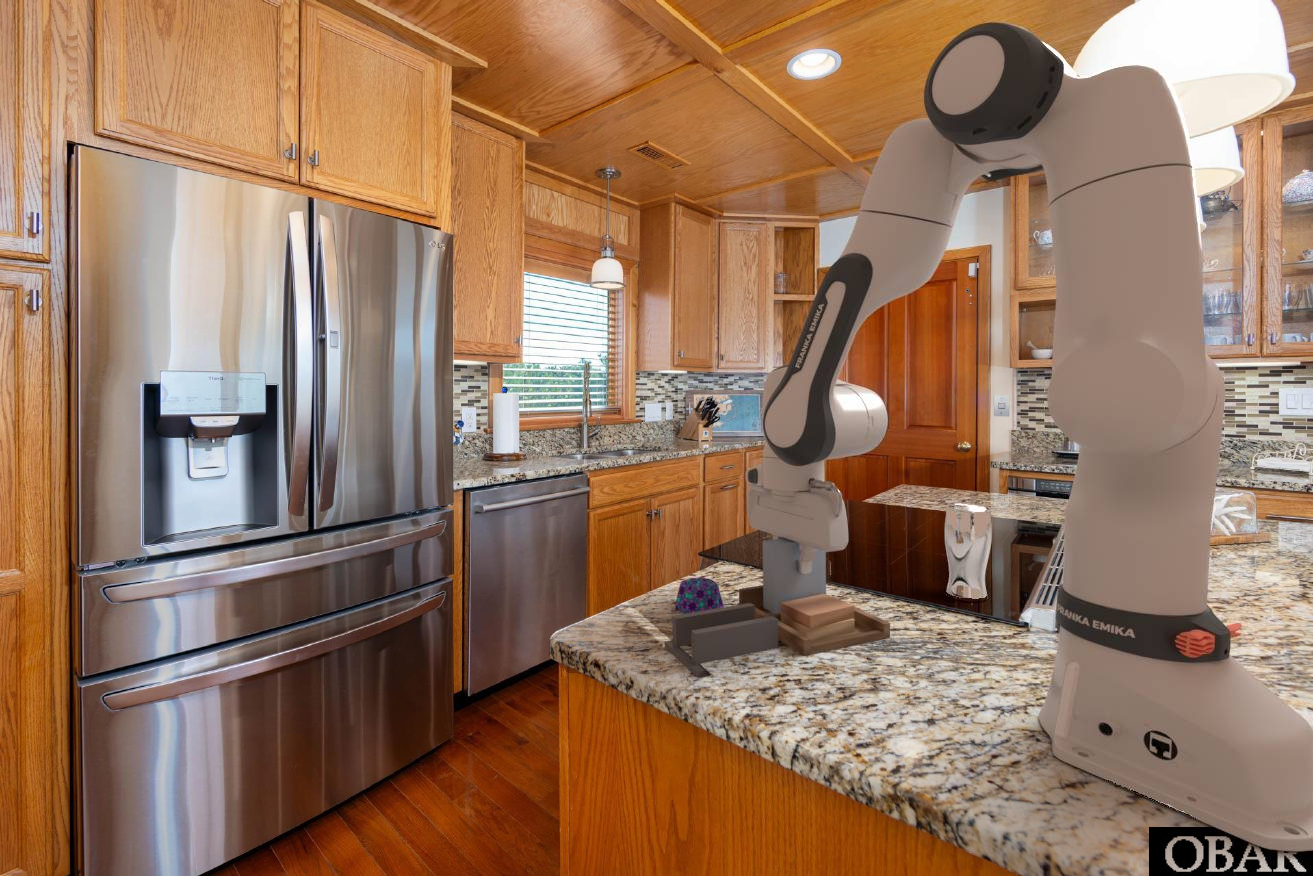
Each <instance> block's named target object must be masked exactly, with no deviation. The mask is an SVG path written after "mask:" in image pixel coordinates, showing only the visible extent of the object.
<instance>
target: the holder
mask: <svg viewBox="0 0 1313 876" xmlns="http://www.w3.org/2000/svg"><path fill="white" fill-rule="evenodd" d="M671 621H672V624H671V625H672V632H671V633H672V640H668V641H667V640H666V641H664V649H666V651H668V652H669V653H670V654H671V655H672V656H673V657H674V658H676V660H678V661H679V662H680V663H681V664H682V665H683V666H684V667H686V669H687V670H689V671H690V672H691V673H692V674H693V675H694V676H695V677H697V679H699V678H704V677H709V676H713V674H712V673H711V672H710V671H709V670H708V669H706V668H705V667H704V666H703V665H702V664H706V663H710V662H715V661H719V660H720V661H721V660H725V659H729V658H730V659H731V658H735V657H739V656H745V655H749V654H753V653H758V652H759V653H760V652H765V651H769V650H775V649H778V648H779V640H778V619H777V618H776V617H774V616H771V617H765V618H759V619H755V605H753V604H751V603H747V604H741V605H739V604H737V605H736V604H735V605H730V606H724V607H723V608H717V609H711V610H705V611H699V612H693V613H687V614H683V613H682V614H676V615H672V620H671ZM690 645H691V655H690V654H689V653H688V652H686V651H685V650H684V649H683V648H682V647H686V646H690Z"/></svg>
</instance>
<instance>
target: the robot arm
mask: <svg viewBox="0 0 1313 876" xmlns="http://www.w3.org/2000/svg"><path fill="white" fill-rule="evenodd" d="M923 104H924V108H925V112H926V115H927V117H921V118H917V119H913V120H910V121H906V122H904V123H902V124H900V125H899V126H898V127H896V128H895V129H894V130H893V131H892V133H891V134H890V135H889V136H888V138H887V140H886V142H885V143H884V146H883V147H882V150H881V152H880V154H879V155H878V158H877V161H876V163H875V164H874V167H873V169H872V172H871V175H870V177H869V180H868V182H867V186H866V188H865V192H864V194H863V198H862V200H861V203H860V207H859V212H858V214H857V217H856V221H855V224H854V226H853V230H852V232H851V234H850V237H849V239H848V241H847V242H846V245H845V247H844V249H843V251H842V253H841V254H840V256H839V257H838V258H837V260H836V261H835V262H833V264H832V265H831V266H830V267H829V269H828V270H827V272H826V274H825V275H824V277H823V278H822V281H821V283H820V286H819V288H818V289H817V292H816V295H815V297H814V299H813V301H812V304H811V306H810V309H809V312H808V314H807V317H806V319H805V322H804V325H803V327H802V330H801V333H800V336H799V338H798V340H797V343H796V345H795V346H794V347H795V348H794V351H793V352H792V353H793V354H792V356H791V358H790V360H789V364H785V365H782V366H778V367H777V368H774V369H772V370H771V371H770V372H769V373H768V374H767V376H766V379H765V382H764V385H763V392H762V403H761V404H762V405H761V407H762V409H761V412H762V413H761V425H762V429H763V435H764V448H763V450H762V463H758V464H757V465H755V466H753V467H750V468H748V469H747V470H746V471H745V475H744V476H745V481H746V483H747V484H748V487H747V491H746V509H747V511H746V513H747V520H748V523H749V525H750V527H751V528H752V529H756V530H758V531H762V532H764V533H768V534H771V535H772V540H774V539H781V538H786V539H789V540H792V541H795V542H798V543H799V550H801V551H802V552H801V555H800V558H799V560H796V571H797V572H800V573H802V574H807V573H810V572H811V571H812V560H813V558H814V556H815V554H816V552H817V549H819V550H822V551H825V552H826V553H827V552H828V553H829V552H838V551H843V550H844V549H846V547H847V546H848V543H849V528H848V527H849V526H848V517H847V516H848V515H847V510H846V505H845V502H844V499H843V494H842V491H840V490H839V488H838V487H837V486H836V484H835V482H832V481H825V480H826V479H825V478H826V477H825V475H826V473H825V461H826V460H835V459H841V458H847V457H853V456H859V455H863V454H866V453H868V452H871V451H874V450H875V449H877V448H878V447H879V446H880V445H881V444H882V443H883V442H884V440H885V438H886V435H887V433H888V430H889V421H890V420H889V419H890V417H889V412H888V408H887V406H886V404H885V402H884V400H883V398H882V397H881V396H880V394H878V393H877V392H876V391H874V390H873V389H871V388H867V387H864V386H860V385H857V384H853V383H850V382H846V381H844V380H840V379H839V377H840V374H841V372H842V370H843V367H844V364H845V363H846V360H847V357H848V355H849V352H850V350H851V348H852V345H853V343H854V340H855V337H856V335H857V333H858V331H859V329H860V327H862V325H863V323H864V322H865V321H866V320H867V319H868V317H870V316H871V315H872V314H873V313H874V312H876V311H877V310H878V309H881V308H882V307H883V306H885V305H887V304H889V303H890V302H892V301H895V300H897V299H899V298H902V297H904V296H907V295H910V294H911V293H913V292H915V291H917V290H918V289H920V288H921V287H923V286H924V285H925V284H927V283H928V281H930V280H931V279H932V277H933V276H934V274H935V272H936V271H937V269H938V267H939V265H940V263H941V261H942V260H943V257H944V256H945V252H946V250H947V247H948V244H949V240H950V239H951V235H952V231H953V228H954V225H955V222H956V219H957V216H958V213H959V209H960V206H961V203H962V201H963V199H964V196H965V195H966V192H967V190H968V189H969V187H970V186H971V185H972V183H973V182H974V181H976V180H977V179H978V178H979V177H981V178H983V179H985V180H986V181H987V182H988V181H989V182H994V181H995V182H996V181H999V180H1004V179H1007V178H1010V177H1011V178H1012V177H1015V176H1023V175H1030V174H1035V173H1039V172H1042V171H1044V175H1045V181H1046V189H1047V199H1048V210H1049V211H1048V212H1049V219H1050V232H1051V241H1052V250H1053V259H1054V260H1053V261H1054V272H1055V285H1056V289H1055V290H1056V292H1055V294H1056V295H1055V311H1054V312H1055V314H1054V321H1053V322H1054V323H1053V324H1054V325H1053V338H1052V355H1051V357H1052V358H1051V359H1052V361H1051V362H1052V365H1051V366H1052V367H1051V368H1052V369H1051V377H1050V380H1049V382H1048V383H1049V384H1048V387H1047V396H1046V397H1047V407H1048V411H1049V414H1050V416H1051V417H1050V418H1051V419H1052V420H1053V422H1054V424H1055V425H1056V427H1057V428H1058V429H1059V430H1060V431H1061V432H1062V433H1063V435H1065V436H1066V437H1067V438H1068V439H1070V441H1072V442H1074V443H1075V444H1077V445H1079V446H1080V447H1079V451H1078V458H1077V463H1076V469H1075V472H1074V478H1073V483H1072V487H1071V490H1070V495H1069V498H1068V501H1067V502H1066V506H1065V510H1064V528H1063V529H1064V531H1063V533H1064V534H1063V564H1062V583H1061V584H1060V585H1058V586H1057V593H1056V605H1055V606H1056V607H1055V608H1056V609H1055V610H1056V611H1055V620H1056V621H1055V622H1056V628H1057V633H1058V642H1057V648H1056V655H1055V656H1056V657H1055V660H1054V661H1055V662H1054V667H1053V671H1052V676H1051V680H1050V683H1049V688H1048V689H1047V693H1046V697H1045V699H1044V703H1043V705H1042V706H1041V708H1040V711H1039V714H1038V720H1039V722H1040V725H1041V727H1042V728H1043V730H1045V732H1046V733H1047V735H1049V737H1050V739H1051V741H1052V742H1051V743H1052V744H1051V750H1052V753H1053V755H1054V756H1055V757H1056V758H1057V759H1058V760H1061V761H1062V762H1064V763H1067V764H1069V765H1071V766H1073V767H1075V768H1079V769H1080V770H1083V771H1085V772H1087V773H1090V774H1092V775H1095V776H1097V777H1098V778H1101V779H1103V780H1106V781H1108V780H1109V781H1108V782H1110V781H1112V782H1113V783H1112V782H1111V783H1112V784H1115V783H1116V784H1115V785H1117V786H1119V785H1121V786H1120V787H1122V788H1124V787H1126V788H1128V789H1127V790H1129V789H1131V790H1133V791H1136V792H1138V793H1141V794H1143V795H1146V796H1148V797H1149V798H1153V799H1154V800H1157V801H1159V802H1163V803H1165V804H1169V805H1171V806H1173V807H1175V808H1176V809H1178V810H1180V811H1184V812H1185V813H1187V814H1189V815H1192V817H1191V818H1193V817H1194V818H1193V819H1195V818H1196V820H1197V821H1200V822H1202V823H1205V824H1206V825H1209V826H1211V827H1214V828H1216V829H1218V830H1221V831H1223V832H1225V833H1228V834H1230V835H1232V836H1234V837H1237V838H1239V839H1241V840H1244V841H1246V842H1249V843H1251V844H1253V845H1255V846H1258V847H1261V848H1264V849H1268V850H1271V851H1272V850H1273V851H1283V852H1284V851H1285V852H1306V851H1307V852H1308V851H1313V727H1312V726H1311V724H1310V722H1308V720H1306V719H1305V718H1304V717H1303V716H1302V715H1301V714H1299V713H1298V712H1297V711H1296V710H1294V709H1293V708H1292V707H1291V706H1290V705H1288V704H1287V703H1286V702H1285V701H1284V700H1282V699H1281V697H1279V696H1278V695H1277V694H1276V693H1274V692H1273V691H1272V690H1271V689H1270V688H1269V687H1268V686H1266V685H1265V684H1264V683H1263V682H1261V681H1260V680H1259V679H1258V678H1257V677H1256V676H1255V675H1253V674H1252V673H1251V672H1250V671H1249V670H1248V669H1247V668H1246V667H1245V666H1243V665H1242V664H1241V663H1240V662H1239V661H1238V660H1236V659H1235V658H1234V657H1233V656H1232V655H1231V642H1232V641H1231V639H1233V638H1237V637H1239V636H1241V635H1242V632H1237V631H1240V629H1241V628H1242V626H1243V625H1242V623H1240V622H1236V623H1232V624H1228V625H1225V624H1224V622H1223V621H1221V619H1219V617H1218V616H1217V615H1216V614H1215V613H1214V611H1213V609H1212V608H1211V607H1210V606H1209V605H1208V592H1209V576H1210V575H1209V573H1210V555H1211V554H1210V553H1211V533H1212V522H1213V521H1212V519H1213V513H1214V512H1213V511H1214V503H1215V498H1216V488H1217V480H1218V471H1219V463H1220V455H1221V454H1220V453H1221V445H1222V434H1223V425H1224V424H1223V423H1224V412H1225V400H1226V385H1225V380H1224V376H1223V374H1222V372H1221V370H1220V368H1219V366H1218V365H1217V363H1216V362H1215V361H1214V360H1213V359H1212V358H1211V357H1210V356H1209V355H1207V353H1206V343H1205V325H1204V295H1203V294H1204V293H1203V292H1204V290H1203V287H1204V286H1203V285H1204V284H1203V283H1204V282H1203V281H1204V279H1203V277H1204V276H1203V273H1204V251H1203V250H1204V249H1203V241H1202V240H1203V239H1202V233H1201V223H1200V215H1199V205H1198V196H1197V195H1198V193H1197V187H1196V178H1195V170H1194V169H1195V168H1194V160H1193V159H1194V158H1193V151H1192V147H1191V142H1190V137H1189V132H1188V129H1187V125H1186V120H1185V117H1184V113H1183V110H1182V108H1181V104H1180V102H1179V99H1178V96H1177V94H1176V92H1175V89H1174V87H1173V84H1172V81H1171V80H1170V78H1169V77H1168V75H1167V74H1165V72H1164V71H1163V70H1161V69H1159V68H1158V67H1155V66H1153V65H1149V64H1143V63H1131V64H1130V63H1129V64H1122V65H1121V64H1120V65H1117V66H1111V67H1110V68H1107V69H1104V70H1101V71H1099V72H1095V73H1094V74H1090V75H1087V76H1082V77H1081V76H1080V75H1078V74H1077V73H1076V72H1075V71H1074V70H1073V68H1072V67H1071V66H1070V65H1069V64H1068V62H1067V61H1066V60H1065V58H1064V57H1063V56H1062V55H1061V54H1060V53H1059V52H1058V51H1057V50H1055V49H1054V48H1053V47H1051V46H1050V45H1049V44H1046V43H1045V42H1044V41H1042V40H1041V39H1040V38H1039V37H1038V36H1036V35H1035V34H1034V33H1033V32H1031V31H1030V30H1028V29H1026V28H1024V27H1022V26H1019V25H1015V24H1012V23H1007V22H1001V21H1000V22H998V21H995V22H994V21H993V22H991V21H990V22H984V23H980V24H976V25H974V26H972V27H969V28H967V29H966V30H964V31H962V32H961V33H959V34H958V35H956V36H955V37H954V38H953V39H951V41H950V42H948V43H947V44H946V45H945V47H944V48H943V49H942V50H941V51H940V53H939V54H938V56H937V57H936V58H935V60H934V61H933V63H932V66H931V67H930V69H929V72H928V75H927V77H926V80H925V85H924V90H923ZM1126 788H1125V789H1126ZM1131 790H1130V791H1131ZM1133 791H1132V792H1133ZM1138 793H1137V794H1138ZM1149 798H1148V799H1149ZM1154 800H1153V801H1154Z"/></svg>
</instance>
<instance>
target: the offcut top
mask: <svg viewBox="0 0 1313 876" xmlns="http://www.w3.org/2000/svg"><path fill="white" fill-rule="evenodd" d="M826 594H827V593H826ZM826 594H820V595H815V596H811V597H806V598H801V599H797V600H792V601H787V602H783V603H781V616H783V617H786V618H788V619H790V620H792V621H794V622H796V623H798V624H800V625H802V626H805V627H807V628H809V629H813V628H817V627H821V626H825V625H829V624H833V623H837V622H841V621H845V620H850V619H854V607H855V604H851V603H849V602H846V601H844V600H841V599H838V598H836V597H834V596H831V595H829V596H828V594H827V595H826Z"/></svg>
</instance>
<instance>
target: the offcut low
mask: <svg viewBox="0 0 1313 876" xmlns="http://www.w3.org/2000/svg"><path fill="white" fill-rule="evenodd" d="M781 622H782V623H784V624H786V625H787V626H789V627H791V628H793V629H794V630H796V631H798V632H800V633H801V634H803V635H805V636H806V637H808V638H810V639H811V641H813V640H818V639H823V638H828V637H833V636H838V635H843V634H848V633H853V632H855V619H850V620H845V621H841V622H837V623H833V624H829V625H825V626H821V627H817V628H813V629H809V628H807V627H805V626H802V625H800V624H798V623H796V622H794V621H792V620H790V619H788V618H786V617H783V616H781Z"/></svg>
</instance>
